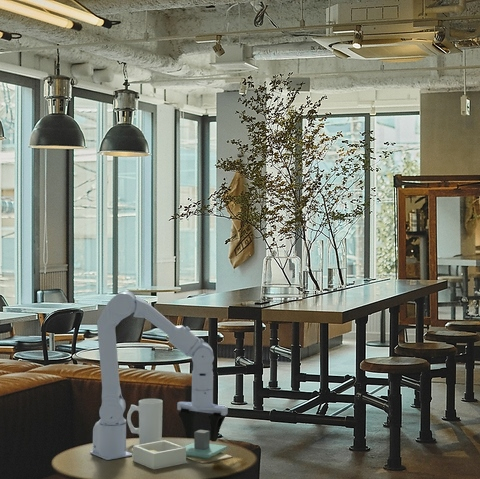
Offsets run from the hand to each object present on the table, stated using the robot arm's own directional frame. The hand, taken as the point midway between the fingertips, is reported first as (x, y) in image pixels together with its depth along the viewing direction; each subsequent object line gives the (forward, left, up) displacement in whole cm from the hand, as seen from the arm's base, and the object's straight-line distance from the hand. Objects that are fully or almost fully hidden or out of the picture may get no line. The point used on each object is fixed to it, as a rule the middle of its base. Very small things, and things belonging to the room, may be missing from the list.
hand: (201, 438), depth 245 cm
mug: (-20, -5, -5) cm, 21 cm away
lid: (0, 0, -4) cm, 4 cm away
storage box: (-1, -13, -4) cm, 14 cm away
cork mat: (0, 0, -4) cm, 4 cm away
